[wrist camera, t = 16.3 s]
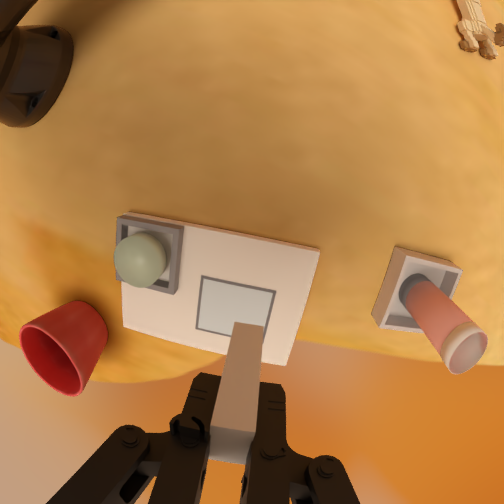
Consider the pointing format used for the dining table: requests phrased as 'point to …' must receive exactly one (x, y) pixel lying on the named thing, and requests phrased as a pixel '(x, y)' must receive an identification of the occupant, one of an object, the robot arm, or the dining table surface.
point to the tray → (400, 267)
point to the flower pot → (65, 345)
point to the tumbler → (443, 323)
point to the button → (140, 259)
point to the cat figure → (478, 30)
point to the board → (219, 286)
